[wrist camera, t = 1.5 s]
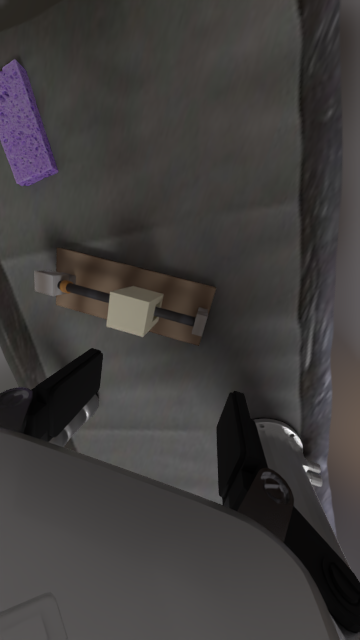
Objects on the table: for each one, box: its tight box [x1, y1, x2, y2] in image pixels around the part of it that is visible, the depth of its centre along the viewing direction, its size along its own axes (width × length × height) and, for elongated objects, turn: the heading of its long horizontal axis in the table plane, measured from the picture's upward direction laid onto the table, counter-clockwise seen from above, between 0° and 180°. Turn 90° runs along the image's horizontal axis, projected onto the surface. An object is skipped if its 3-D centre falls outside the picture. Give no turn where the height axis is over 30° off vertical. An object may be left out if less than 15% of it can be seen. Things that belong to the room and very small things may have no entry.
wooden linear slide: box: [34, 248, 216, 346], centre depth 28 cm, size 27×10×6 cm, turn 77°
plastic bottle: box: [49, 394, 99, 447], centre depth 30 cm, size 6×7×20 cm
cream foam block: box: [107, 286, 164, 337], centre depth 25 cm, size 5×5×7 cm
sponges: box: [0, 59, 58, 186], centre depth 27 cm, size 7×13×2 cm, turn 12°
